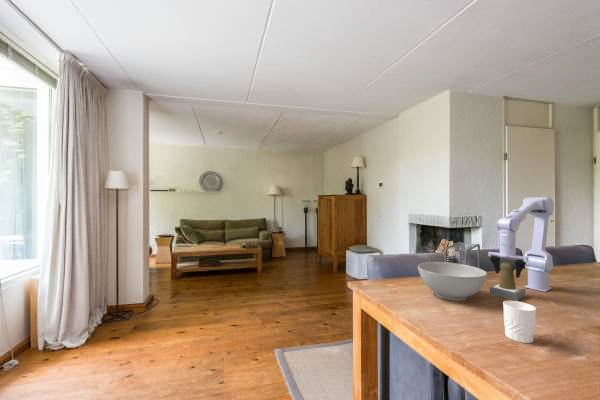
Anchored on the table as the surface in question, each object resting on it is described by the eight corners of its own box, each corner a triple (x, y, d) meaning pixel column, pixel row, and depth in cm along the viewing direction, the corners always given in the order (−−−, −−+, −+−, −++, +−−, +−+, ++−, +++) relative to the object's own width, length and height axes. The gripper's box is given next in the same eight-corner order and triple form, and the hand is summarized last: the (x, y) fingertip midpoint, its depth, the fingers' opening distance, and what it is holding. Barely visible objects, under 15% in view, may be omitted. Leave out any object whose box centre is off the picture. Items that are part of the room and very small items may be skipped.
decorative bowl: (492, 295, 120) (492, 268, 120) (480, 313, 100) (480, 281, 100) (428, 282, 138) (428, 259, 138) (408, 296, 119) (408, 268, 119)
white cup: (496, 332, 86) (496, 300, 86) (519, 331, 87) (519, 300, 87) (518, 345, 79) (518, 311, 79) (543, 344, 79) (543, 310, 79)
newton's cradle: (466, 285, 134) (467, 250, 134) (444, 281, 141) (444, 247, 141) (480, 274, 155) (480, 243, 155) (459, 270, 162) (459, 241, 162)
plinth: (499, 289, 128) (499, 282, 128) (525, 296, 119) (525, 288, 119) (489, 293, 122) (489, 286, 122) (516, 300, 114) (516, 292, 114)
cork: (518, 290, 117) (518, 265, 117) (503, 289, 118) (503, 264, 118) (511, 285, 123) (511, 261, 123) (496, 284, 124) (496, 261, 124)
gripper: (485, 243, 125) (485, 272, 125) (524, 248, 112) (524, 280, 112) (492, 242, 128) (492, 270, 128) (530, 246, 116) (530, 277, 116)
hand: (507, 275), depth 121 cm, fingers open, 7 cm apart
